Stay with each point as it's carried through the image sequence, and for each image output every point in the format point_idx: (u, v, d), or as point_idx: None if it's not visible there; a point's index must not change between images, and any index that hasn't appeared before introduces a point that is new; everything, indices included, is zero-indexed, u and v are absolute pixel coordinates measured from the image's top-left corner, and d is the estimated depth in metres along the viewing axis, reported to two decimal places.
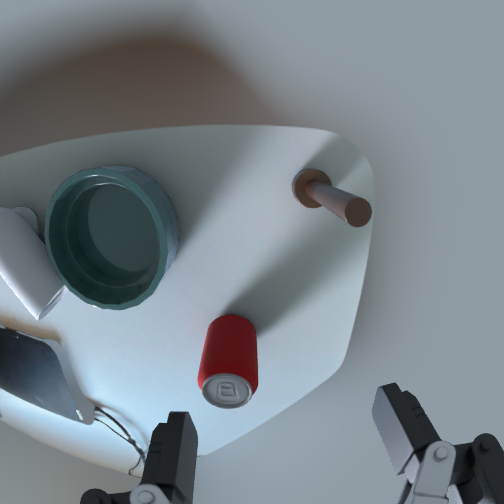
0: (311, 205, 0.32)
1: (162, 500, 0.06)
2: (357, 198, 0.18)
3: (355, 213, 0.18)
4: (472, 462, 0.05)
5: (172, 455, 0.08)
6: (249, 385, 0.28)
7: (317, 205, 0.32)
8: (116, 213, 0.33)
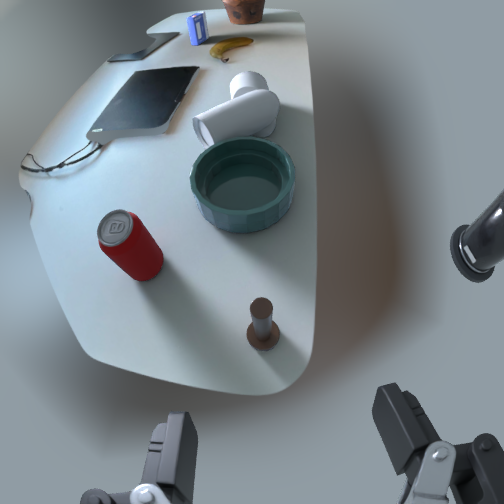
0: (249, 331, 0.38)
1: (162, 500, 0.06)
2: (272, 307, 0.25)
3: (260, 305, 0.25)
4: (472, 462, 0.05)
5: (172, 455, 0.08)
6: (116, 244, 0.33)
7: (248, 336, 0.38)
8: (257, 192, 0.49)
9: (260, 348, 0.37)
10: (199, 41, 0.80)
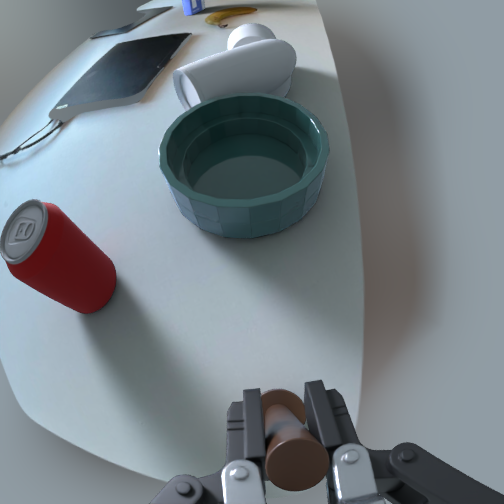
0: None
1: (257, 473, 0.07)
2: (327, 461, 0.07)
3: (297, 459, 0.07)
4: (390, 471, 0.06)
5: (256, 429, 0.09)
6: (19, 260, 0.15)
7: None
8: (267, 174, 0.31)
9: None
10: (194, 11, 0.62)
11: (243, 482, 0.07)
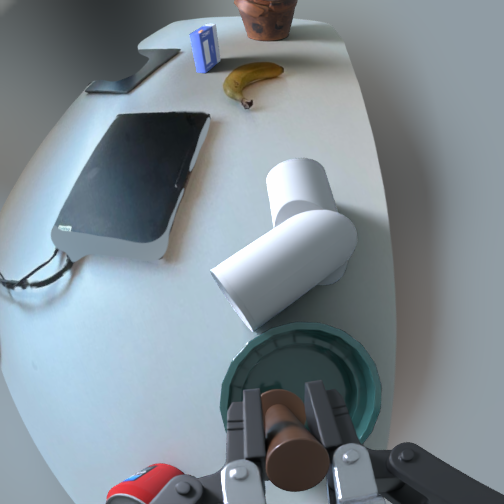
0: None
1: (257, 473, 0.07)
2: (328, 462, 0.07)
3: (297, 460, 0.07)
4: (391, 471, 0.06)
5: (256, 429, 0.09)
6: None
7: None
8: None
9: None
10: (207, 67, 0.61)
11: (243, 482, 0.07)
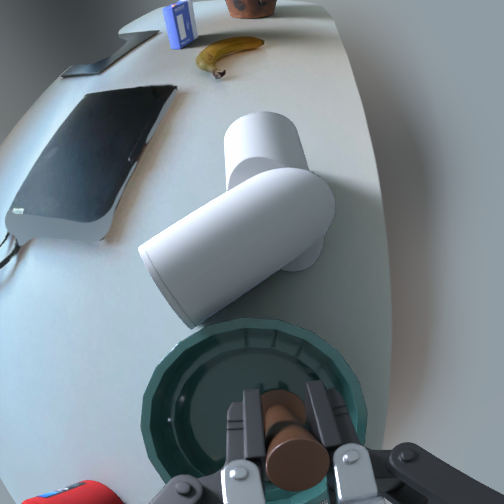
0: None
1: (257, 473, 0.07)
2: (328, 461, 0.07)
3: (297, 460, 0.07)
4: (391, 471, 0.06)
5: (256, 429, 0.09)
6: None
7: None
8: None
9: None
10: (182, 43, 0.52)
11: (243, 482, 0.07)
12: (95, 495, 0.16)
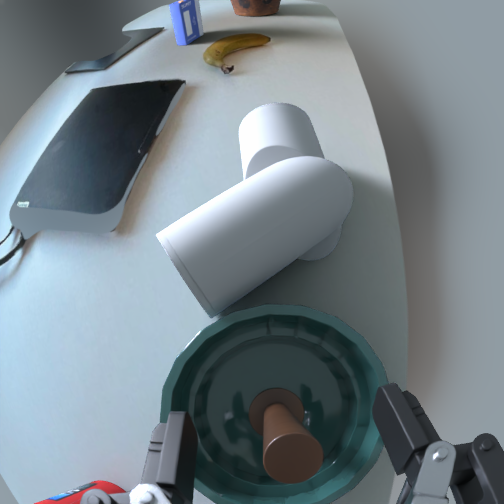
0: (253, 410, 0.20)
1: (162, 500, 0.06)
2: (322, 455, 0.07)
3: (293, 453, 0.08)
4: (472, 462, 0.05)
5: (172, 455, 0.08)
6: None
7: (252, 418, 0.20)
8: None
9: None
10: (189, 39, 0.52)
11: None
12: None
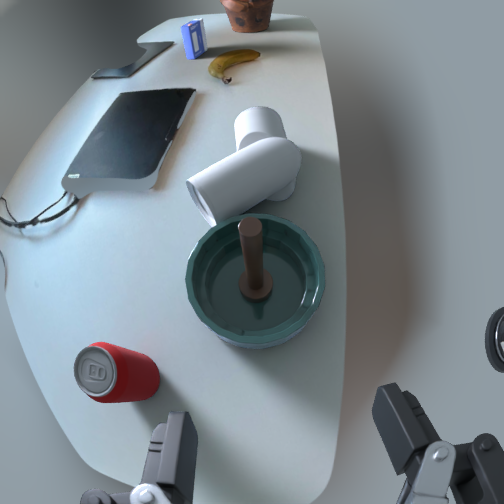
0: (241, 279, 0.37)
1: (162, 500, 0.06)
2: (261, 226, 0.25)
3: (249, 224, 0.25)
4: (472, 461, 0.05)
5: (172, 455, 0.08)
6: (100, 396, 0.23)
7: (240, 285, 0.37)
8: (273, 289, 0.39)
9: (252, 297, 0.36)
10: (196, 55, 0.69)
11: None
12: (139, 353, 0.33)
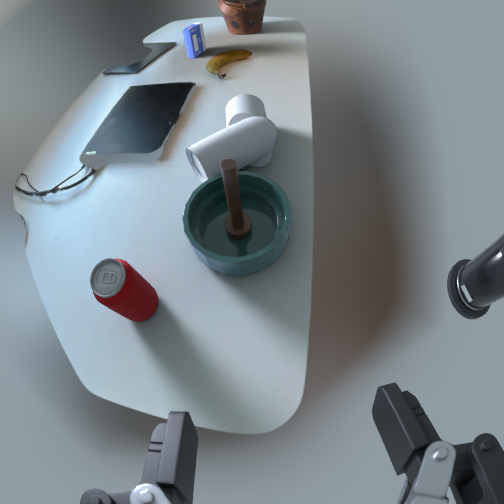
0: (226, 221, 0.47)
1: (162, 500, 0.06)
2: None
3: (228, 162, 0.35)
4: (472, 462, 0.05)
5: (172, 455, 0.08)
6: (109, 296, 0.33)
7: (226, 224, 0.47)
8: (252, 230, 0.49)
9: (235, 233, 0.46)
10: (196, 54, 0.79)
11: None
12: None
